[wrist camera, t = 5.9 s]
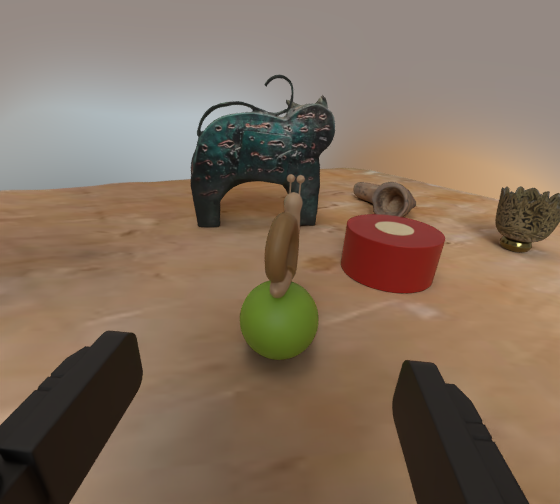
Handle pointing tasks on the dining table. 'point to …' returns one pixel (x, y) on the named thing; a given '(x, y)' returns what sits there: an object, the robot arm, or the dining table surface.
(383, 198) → the pipe
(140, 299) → the dining table surface
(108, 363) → the robot arm
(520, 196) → the cup
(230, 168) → the ceramic cat
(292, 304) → the snail figurine
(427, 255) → the cheese
